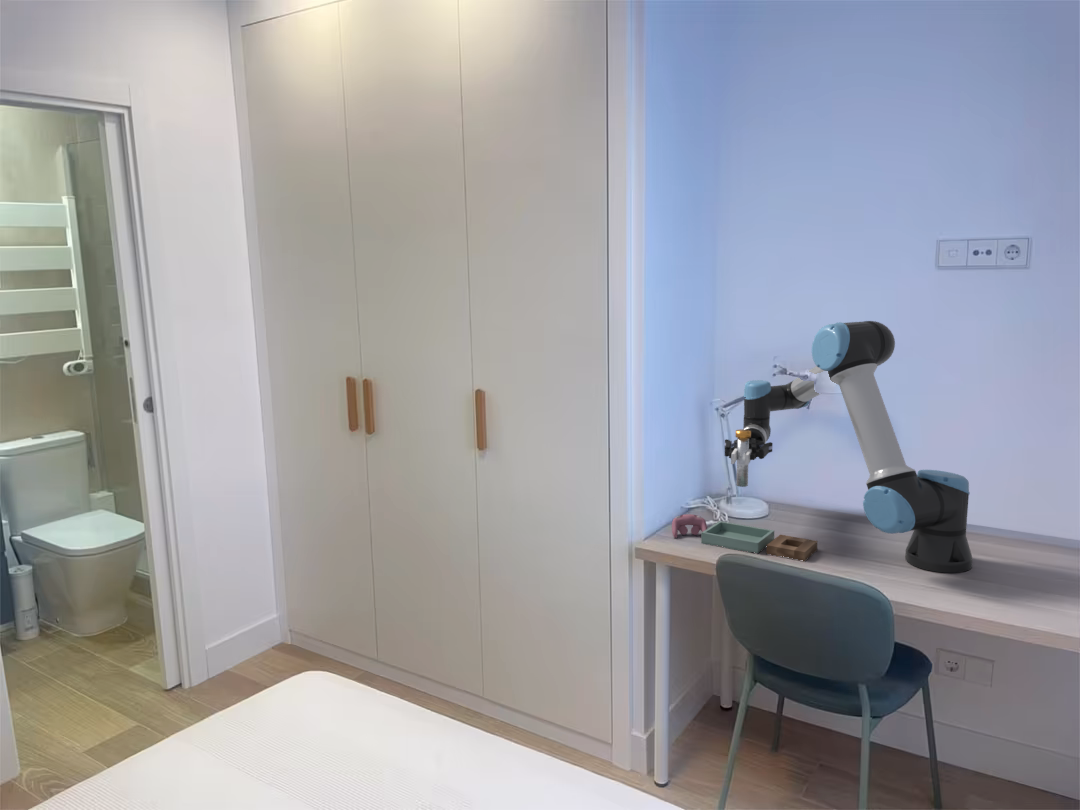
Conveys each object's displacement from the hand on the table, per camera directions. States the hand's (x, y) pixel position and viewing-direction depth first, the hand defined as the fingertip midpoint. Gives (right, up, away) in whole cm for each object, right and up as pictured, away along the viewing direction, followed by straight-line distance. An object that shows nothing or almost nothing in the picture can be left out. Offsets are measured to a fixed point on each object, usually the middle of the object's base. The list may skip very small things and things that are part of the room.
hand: (739, 459), depth 216 cm
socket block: (+14, -24, +1) cm, 28 cm away
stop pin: (+2, -7, +7) cm, 10 cm away
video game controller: (-10, -23, +16) cm, 30 cm away
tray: (+2, -23, +9) cm, 25 cm away
